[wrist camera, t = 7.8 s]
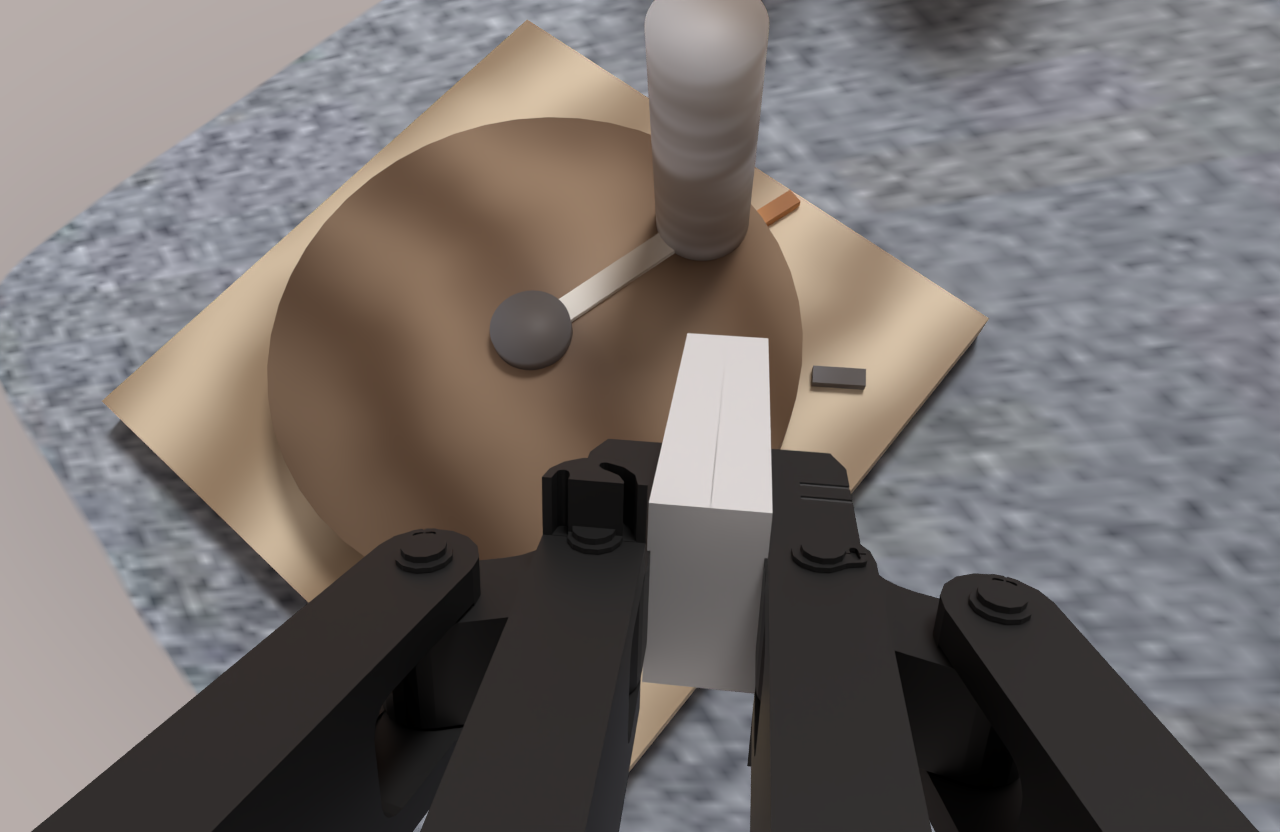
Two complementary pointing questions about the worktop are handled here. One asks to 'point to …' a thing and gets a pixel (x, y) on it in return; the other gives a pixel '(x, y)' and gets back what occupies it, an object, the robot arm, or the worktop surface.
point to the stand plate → (491, 93)
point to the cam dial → (531, 298)
